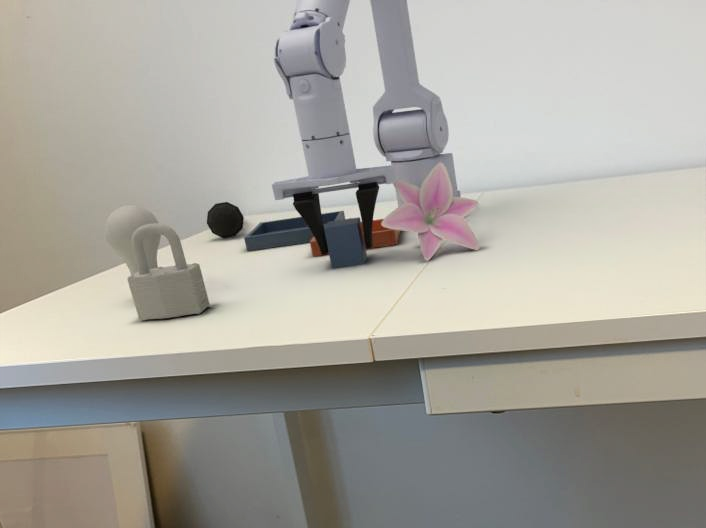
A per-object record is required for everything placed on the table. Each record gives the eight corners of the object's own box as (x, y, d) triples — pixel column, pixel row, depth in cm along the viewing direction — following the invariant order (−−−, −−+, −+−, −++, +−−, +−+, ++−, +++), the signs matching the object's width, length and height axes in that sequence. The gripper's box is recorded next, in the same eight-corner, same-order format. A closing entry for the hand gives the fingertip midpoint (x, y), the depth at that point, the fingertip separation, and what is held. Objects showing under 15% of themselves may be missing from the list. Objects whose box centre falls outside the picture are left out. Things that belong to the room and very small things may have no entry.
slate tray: (346, 223, 126) (343, 210, 125) (338, 238, 115) (335, 224, 115) (262, 235, 126) (260, 222, 125) (247, 251, 116) (243, 237, 115)
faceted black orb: (230, 238, 145) (217, 245, 125) (213, 209, 143) (197, 212, 124) (257, 223, 145) (248, 229, 126) (241, 194, 144) (229, 195, 124)
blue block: (367, 256, 102) (359, 217, 100) (364, 263, 98) (356, 223, 96) (335, 260, 102) (328, 221, 100) (332, 268, 98) (323, 228, 96)
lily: (373, 274, 96) (383, 207, 90) (382, 218, 105) (391, 153, 98) (472, 290, 98) (488, 225, 91) (473, 233, 106) (488, 170, 100)
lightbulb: (134, 293, 100) (108, 205, 96) (183, 285, 100) (159, 197, 97) (118, 307, 95) (90, 214, 91) (170, 299, 95) (144, 206, 91)
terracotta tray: (399, 230, 114) (397, 216, 114) (396, 244, 106) (394, 229, 105) (322, 241, 115) (319, 227, 114) (312, 256, 106) (309, 241, 105)
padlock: (136, 323, 87) (109, 231, 83) (152, 311, 90) (127, 223, 87) (199, 315, 86) (174, 223, 82) (212, 304, 90) (189, 215, 86)
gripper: (257, 149, 91) (283, 265, 96) (384, 130, 91) (404, 248, 95) (269, 143, 98) (293, 252, 102) (388, 125, 97) (406, 236, 102)
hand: (347, 249), depth 99 cm, fingers open, 5 cm apart
